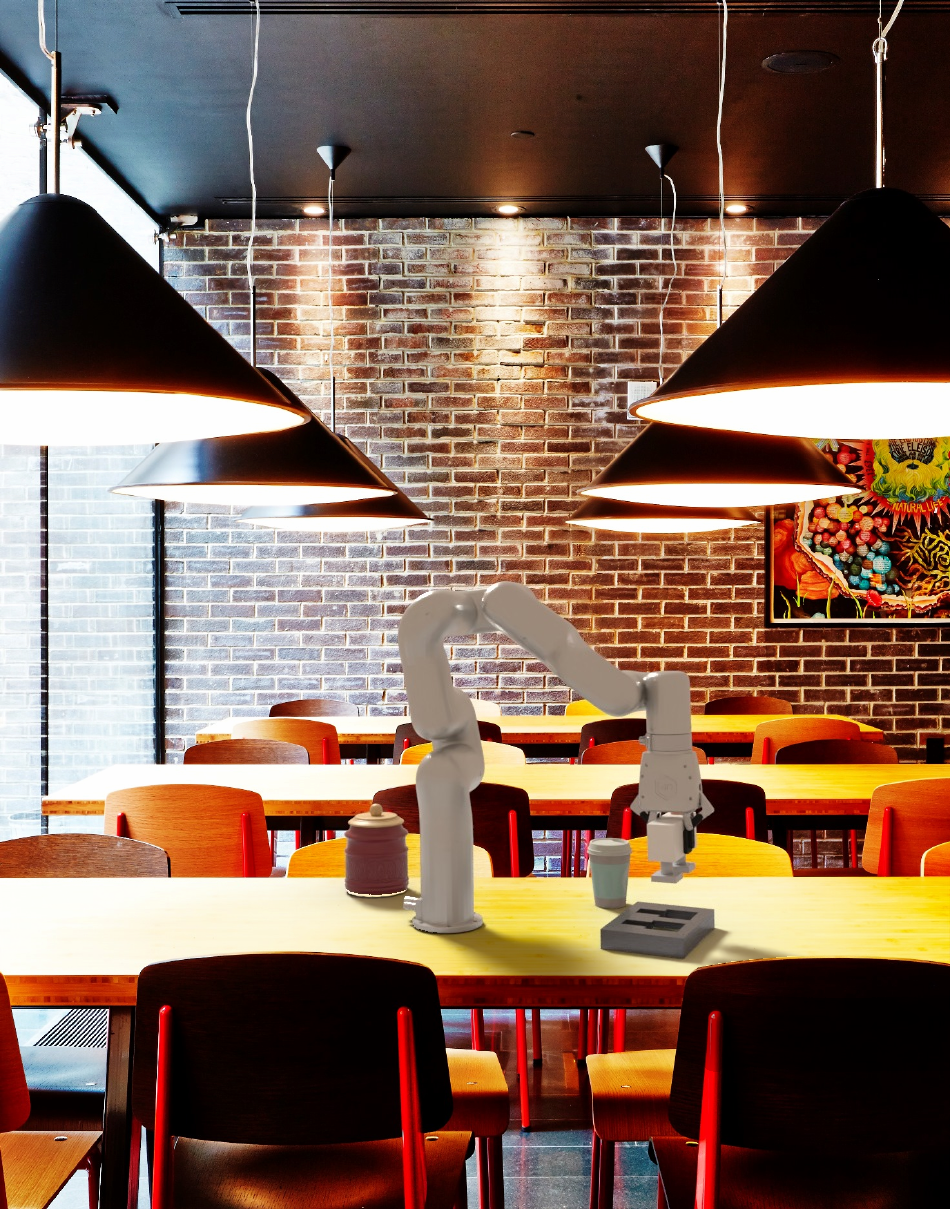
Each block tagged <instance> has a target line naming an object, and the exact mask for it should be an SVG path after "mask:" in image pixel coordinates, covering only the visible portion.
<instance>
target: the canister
mask: <svg viewBox="0 0 950 1209" xmlns="http://www.w3.org/2000/svg"><path fill="white" fill-rule="evenodd" d="M404 822H405V820H404V819H403V818H401V817H400V816H398V814H397V813H395V812H389V811H388V812H387V811H383V807H382V805H381V804H379V803H373V804H371V806H370V807H369V811H368V812H362V813H358V814H356V815H355V816H354V817H353V818H351V819H350V820H348V822H347V823H348V825H349V828H348V830H345V832H344V835H343V836H344V837H345V839H346V847H345V848H344V854H345V856H344V858H345V859H344V862H345V878H344V887H345V890H346V889H347V890H349V891H350V892H354V893H358V894H369V895H370V894H371V895H382V894H392V893H397V892H401V891H404V890H406V889H407V888H408V886H409V884H410V882H409V880H410V878H409V868H408V867H409V865H408V864H409V863H408V862H409V859H408V857H409V855H408V851H409V847H408V846H407V842H406V841H407V838H406V837H407V836H408V835H409V831H408V830H407V829H406V828H404V826H403V824H404ZM407 890H408V889H407Z"/></svg>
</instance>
